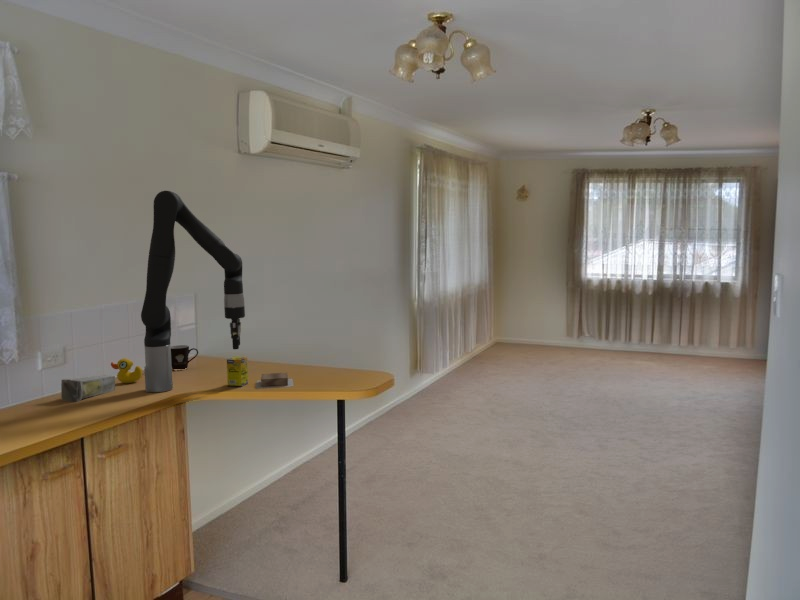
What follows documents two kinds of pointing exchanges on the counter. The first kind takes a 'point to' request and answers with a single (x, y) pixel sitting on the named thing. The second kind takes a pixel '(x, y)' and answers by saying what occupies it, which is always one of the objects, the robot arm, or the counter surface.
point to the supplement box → (237, 371)
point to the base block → (274, 379)
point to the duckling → (124, 373)
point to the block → (86, 387)
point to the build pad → (258, 386)
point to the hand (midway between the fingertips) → (236, 347)
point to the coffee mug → (180, 356)
